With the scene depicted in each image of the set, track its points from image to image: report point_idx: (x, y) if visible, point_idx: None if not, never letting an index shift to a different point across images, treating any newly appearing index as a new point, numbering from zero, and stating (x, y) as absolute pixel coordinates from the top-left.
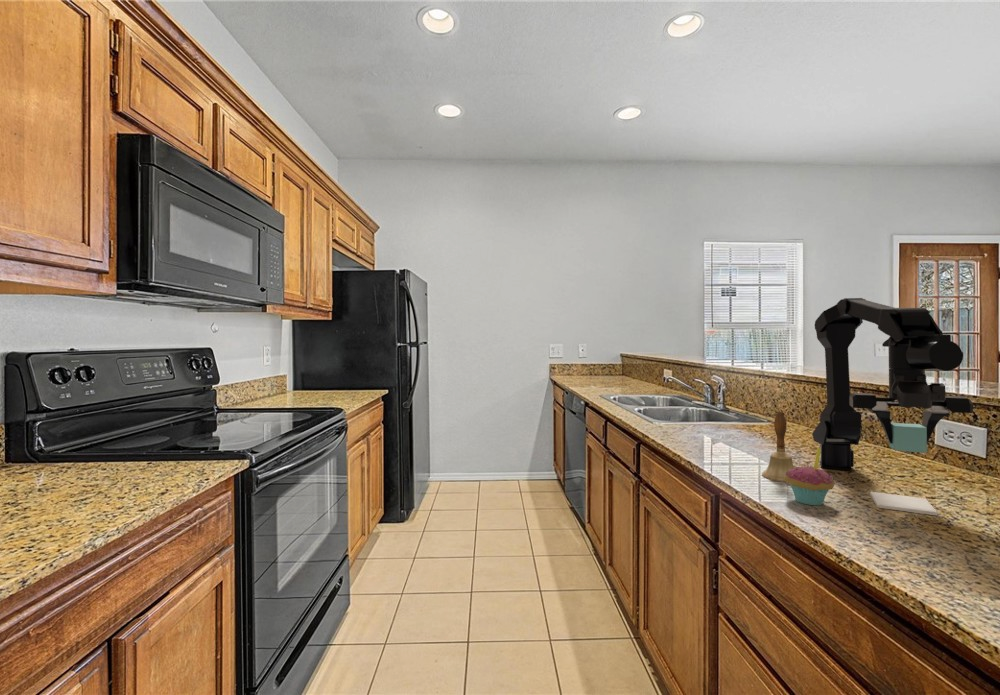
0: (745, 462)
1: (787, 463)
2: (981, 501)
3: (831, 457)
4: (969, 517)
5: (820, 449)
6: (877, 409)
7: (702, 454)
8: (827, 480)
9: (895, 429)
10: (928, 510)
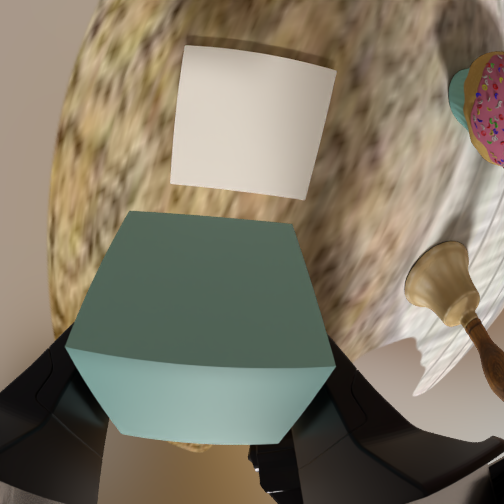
0: (437, 340)
1: (458, 284)
2: (60, 236)
3: None
4: (108, 74)
5: None
6: (469, 479)
7: (467, 350)
8: (500, 62)
9: (322, 336)
10: (203, 56)
